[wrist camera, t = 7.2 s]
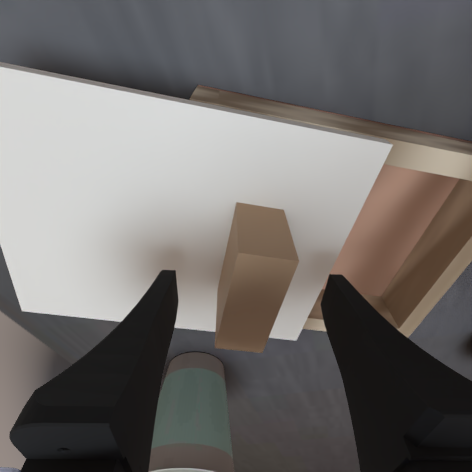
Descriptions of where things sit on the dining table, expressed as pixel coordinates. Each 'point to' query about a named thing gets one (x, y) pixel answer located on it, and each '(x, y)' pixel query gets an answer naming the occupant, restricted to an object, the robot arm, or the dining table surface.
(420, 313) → the box
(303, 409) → the dining table surface
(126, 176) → the lid
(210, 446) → the coffee cup
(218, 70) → the dining table surface
